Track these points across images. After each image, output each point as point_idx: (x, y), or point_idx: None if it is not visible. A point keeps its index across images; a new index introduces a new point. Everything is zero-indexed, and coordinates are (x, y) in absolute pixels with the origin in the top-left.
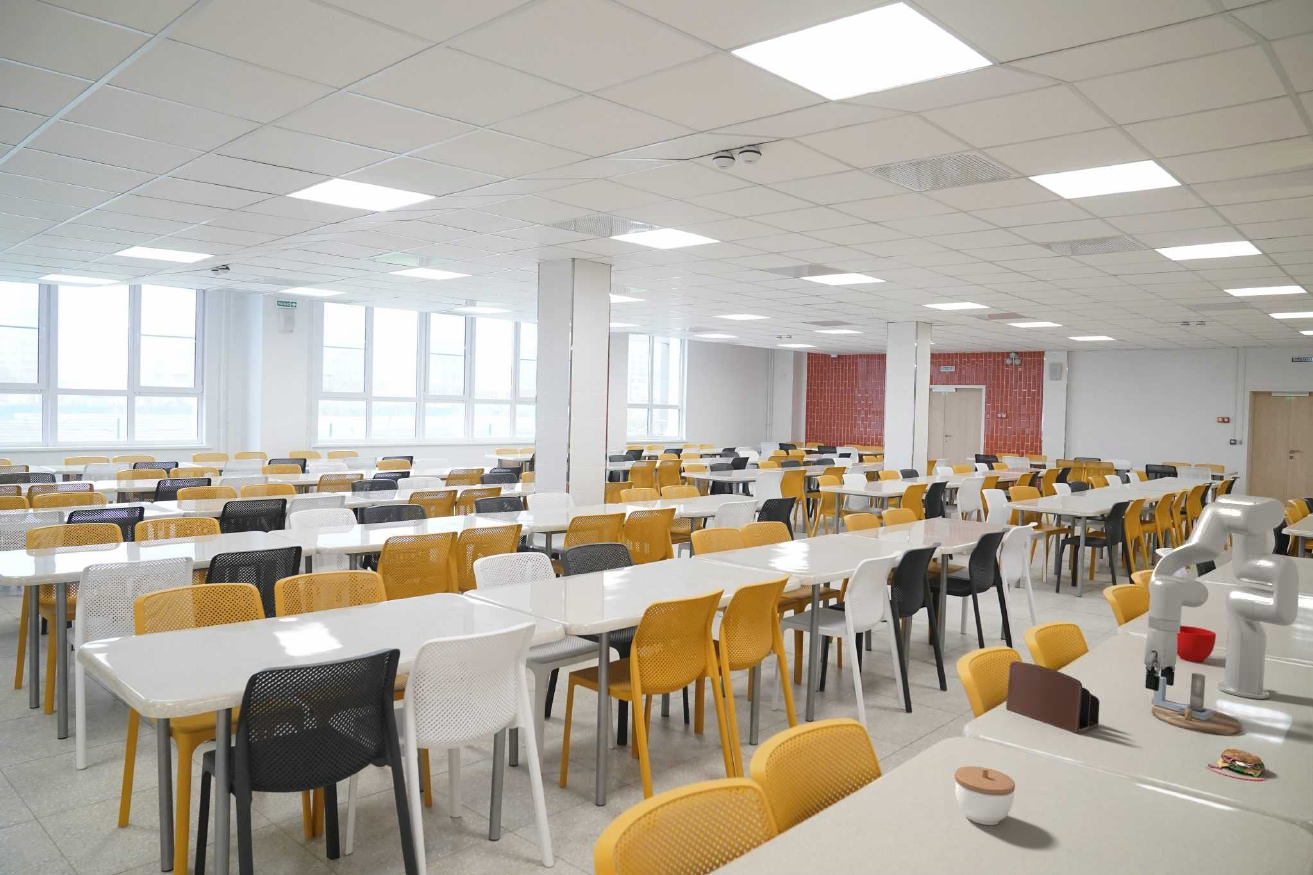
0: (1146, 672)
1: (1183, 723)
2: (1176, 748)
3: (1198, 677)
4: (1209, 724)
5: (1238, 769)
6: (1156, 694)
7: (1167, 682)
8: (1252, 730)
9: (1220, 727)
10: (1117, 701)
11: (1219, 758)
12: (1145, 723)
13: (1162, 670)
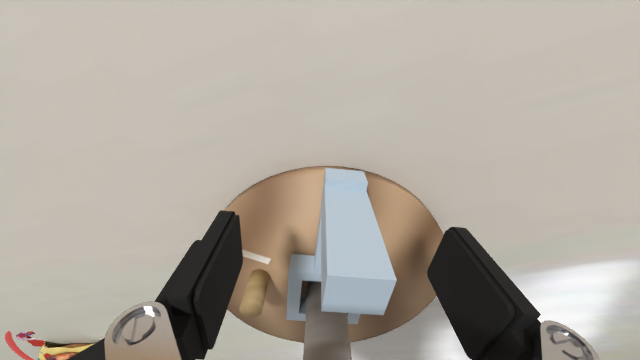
0: (116, 323)
1: None
2: (34, 286)
3: None
4: (274, 309)
5: None
6: (323, 210)
7: (439, 266)
8: (360, 340)
9: (275, 324)
10: (314, 6)
11: (61, 347)
12: (131, 191)
13: (501, 310)
